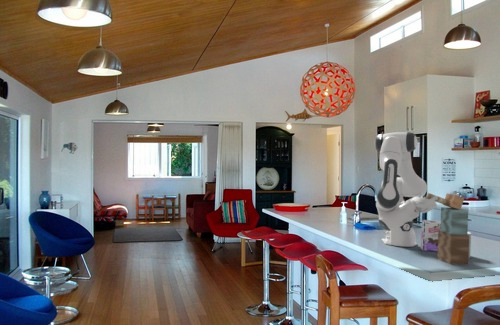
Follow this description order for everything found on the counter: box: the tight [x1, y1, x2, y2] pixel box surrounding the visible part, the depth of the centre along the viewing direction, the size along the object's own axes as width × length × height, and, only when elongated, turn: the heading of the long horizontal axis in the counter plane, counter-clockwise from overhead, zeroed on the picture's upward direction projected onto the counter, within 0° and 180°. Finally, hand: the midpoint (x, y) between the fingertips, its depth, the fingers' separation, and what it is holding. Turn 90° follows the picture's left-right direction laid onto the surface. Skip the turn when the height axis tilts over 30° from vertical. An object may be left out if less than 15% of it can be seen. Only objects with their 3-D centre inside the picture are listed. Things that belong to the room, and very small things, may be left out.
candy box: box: [420, 219, 441, 252], centre depth 264 cm, size 14×6×16 cm, turn 82°
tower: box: [436, 207, 470, 265], centre depth 238 cm, size 13×9×26 cm
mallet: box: [425, 192, 465, 210], centre depth 237 cm, size 8×16×6 cm, turn 96°
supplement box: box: [467, 231, 472, 259], centre depth 251 cm, size 7×7×13 cm
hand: (434, 196), depth 236 cm, fingers closed on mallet, 3 cm apart
